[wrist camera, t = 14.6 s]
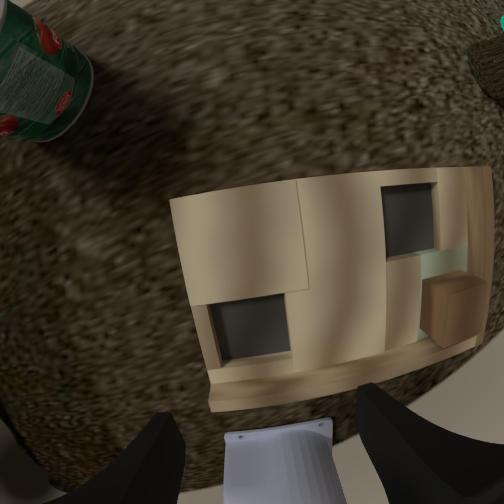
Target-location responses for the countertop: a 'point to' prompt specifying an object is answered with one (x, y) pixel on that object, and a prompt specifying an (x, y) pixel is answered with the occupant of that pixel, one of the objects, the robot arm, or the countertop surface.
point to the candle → (502, 22)
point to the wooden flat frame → (327, 277)
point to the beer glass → (489, 65)
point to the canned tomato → (39, 78)
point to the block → (452, 307)
